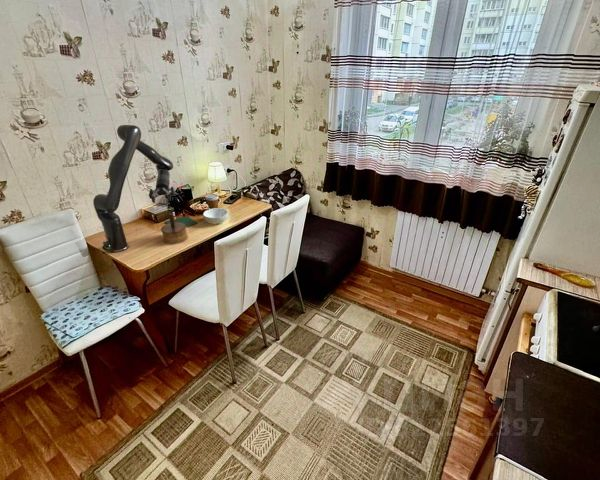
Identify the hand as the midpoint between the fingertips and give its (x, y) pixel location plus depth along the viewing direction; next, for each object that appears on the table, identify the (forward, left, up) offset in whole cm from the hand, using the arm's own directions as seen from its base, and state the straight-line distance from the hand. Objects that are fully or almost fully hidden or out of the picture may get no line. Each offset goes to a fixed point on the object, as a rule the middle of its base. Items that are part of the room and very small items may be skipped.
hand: (161, 201), depth 183 cm
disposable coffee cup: (+43, +20, -25) cm, 53 cm away
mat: (+15, +15, -24) cm, 32 cm away
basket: (+3, -5, -24) cm, 25 cm away
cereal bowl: (+35, +1, -25) cm, 42 cm away
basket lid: (+3, -5, -17) cm, 18 cm away
